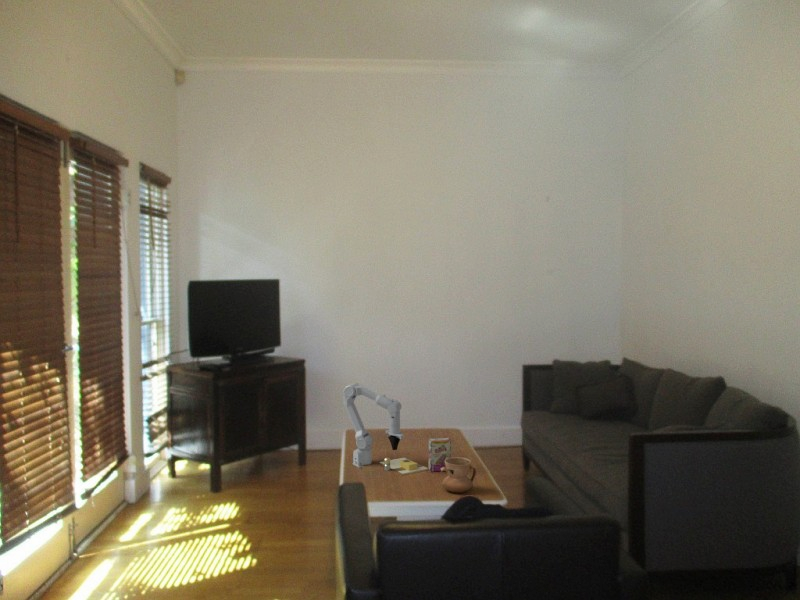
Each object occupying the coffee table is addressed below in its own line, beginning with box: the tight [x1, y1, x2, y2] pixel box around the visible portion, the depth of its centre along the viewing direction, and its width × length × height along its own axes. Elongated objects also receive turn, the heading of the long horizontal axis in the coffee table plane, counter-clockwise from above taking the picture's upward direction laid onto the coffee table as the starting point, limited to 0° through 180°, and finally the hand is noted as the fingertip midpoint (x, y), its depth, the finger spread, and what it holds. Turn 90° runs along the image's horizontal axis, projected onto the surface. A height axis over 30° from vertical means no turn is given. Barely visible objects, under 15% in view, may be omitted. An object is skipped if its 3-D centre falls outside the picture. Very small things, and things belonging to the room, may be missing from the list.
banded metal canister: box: [383, 456, 391, 472], centre depth 351 cm, size 3×3×7 cm
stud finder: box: [400, 458, 418, 471], centre depth 354 cm, size 5×9×3 cm, turn 32°
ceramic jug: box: [440, 456, 477, 493], centre depth 322 cm, size 18×14×14 cm
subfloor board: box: [378, 457, 429, 477], centre depth 359 cm, size 16×24×1 cm, turn 32°
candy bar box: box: [427, 437, 452, 473], centre depth 353 cm, size 11×5×16 cm, turn 102°
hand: (394, 449), depth 358 cm, fingers closed
